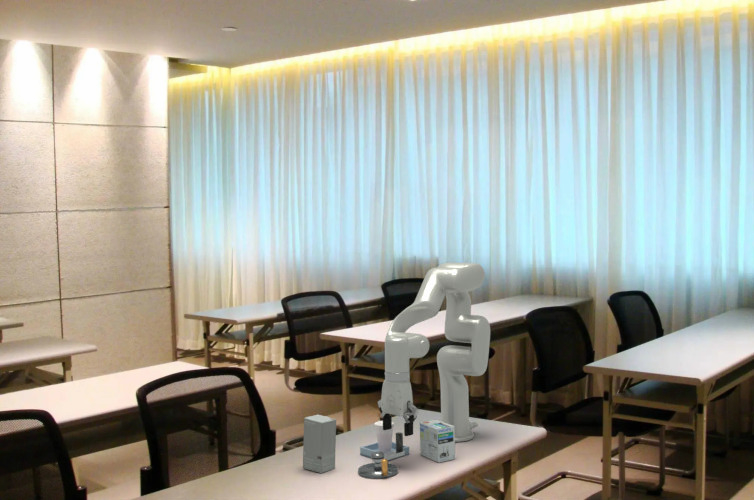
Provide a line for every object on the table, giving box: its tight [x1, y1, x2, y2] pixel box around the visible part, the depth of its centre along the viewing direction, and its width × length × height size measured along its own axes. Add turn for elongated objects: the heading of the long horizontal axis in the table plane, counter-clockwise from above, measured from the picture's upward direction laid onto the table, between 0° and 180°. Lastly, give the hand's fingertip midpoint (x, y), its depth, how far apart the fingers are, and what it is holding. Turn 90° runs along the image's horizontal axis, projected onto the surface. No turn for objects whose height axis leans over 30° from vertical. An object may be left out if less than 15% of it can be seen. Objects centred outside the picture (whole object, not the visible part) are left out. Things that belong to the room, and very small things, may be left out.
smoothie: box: [374, 420, 395, 453], centre depth 259 cm, size 6×6×14 cm
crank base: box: [357, 459, 399, 480], centre depth 242 cm, size 12×12×6 cm
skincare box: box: [302, 414, 337, 474], centre depth 247 cm, size 8×7×16 cm
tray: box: [359, 441, 410, 462], centre depth 260 cm, size 11×11×2 cm
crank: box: [370, 431, 405, 463], centre depth 245 cm, size 12×4×7 cm, turn 131°
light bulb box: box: [419, 419, 456, 463], centre depth 256 cm, size 11×7×11 cm, turn 31°
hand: (397, 432), depth 247 cm, fingers open, 9 cm apart
